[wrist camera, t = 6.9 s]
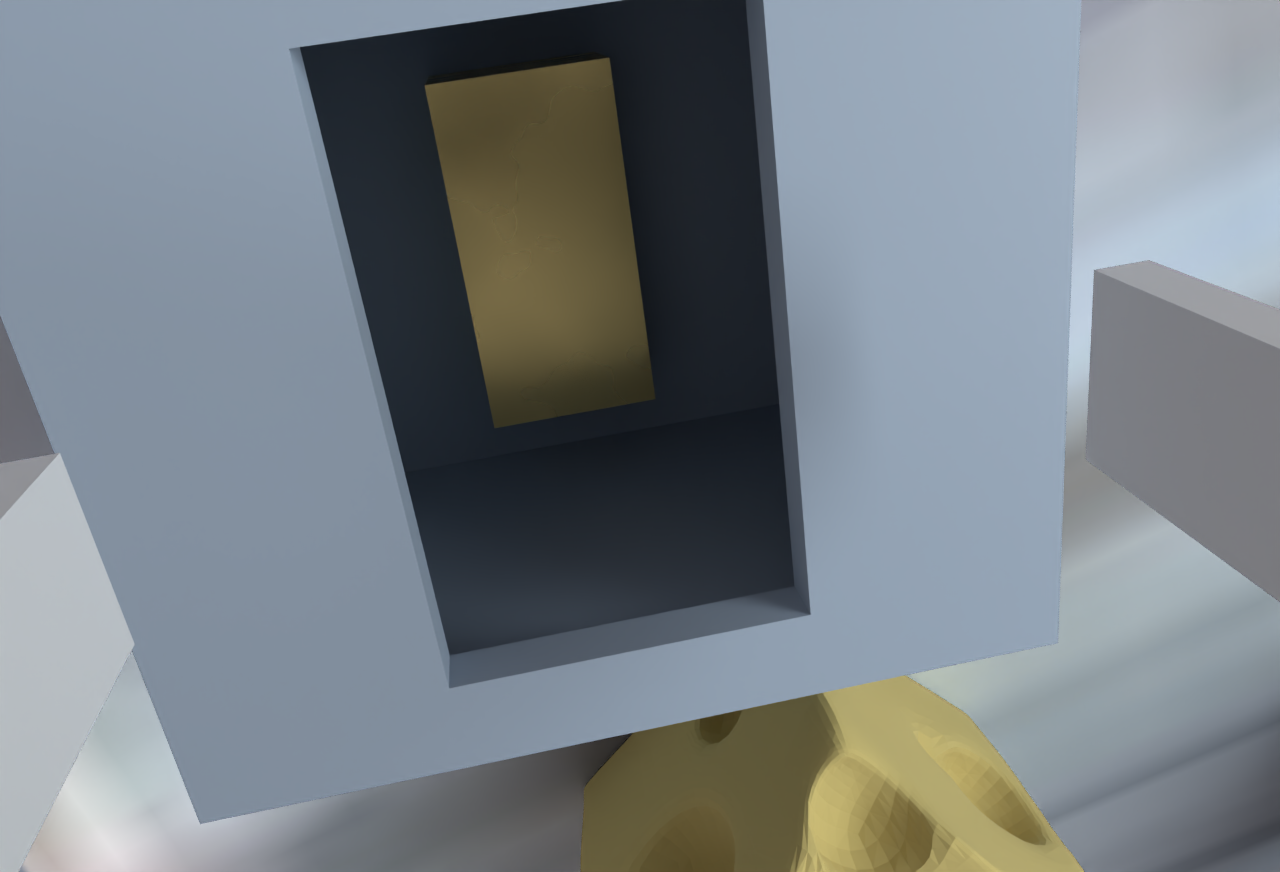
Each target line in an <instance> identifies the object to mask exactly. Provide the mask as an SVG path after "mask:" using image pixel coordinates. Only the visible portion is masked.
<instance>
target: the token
mask: <svg viewBox="0 0 1280 872" xmlns="http://www.w3.org/2000/svg"><path fill="white" fill-rule="evenodd" d="M425 90H426V95H427V100H428V105H429V110H430V115H431V120H432V125H433V130H434V134H435V139H436V144H437V149H438V154H439V159H440V164H441V169H442V174H443V179H444V183H445V188H446V193H447V198H448V203H449V208H450V213H451V218H452V223H453V227H454V232H455V237H456V242H457V247H458V252H459V257H460V262H461V267H462V272H463V276H464V281H465V286H466V291H467V296H468V301H469V306H470V311H471V316H472V321H473V325H474V330H475V335H476V340H477V345H478V350H479V355H480V360H481V365H482V370H483V374H484V379H485V384H486V389H487V394H488V399H489V404H490V409H491V414H492V419H493V423H494V428H499V427H504V426H510V425H515V424H521V423H526V422H532V421H538V420H543V419H549V418H554V417H560V416H565V415H571V414H576V413H582V412H587V411H593V410H598V409H604V408H609V407H615V406H620V405H626V404H631V403H637V402H642V401H648V400H653V399H655V392H654V385H653V377H652V370H651V362H650V355H649V347H648V340H647V333H646V325H645V318H644V310H643V303H642V296H641V288H640V281H639V273H638V266H637V258H636V251H635V244H634V236H633V229H632V221H631V214H630V206H629V199H628V192H627V184H626V177H625V169H624V162H623V155H622V147H621V140H620V132H619V125H618V117H617V110H616V103H615V95H614V88H613V80H612V73H611V65H610V58H609V57H607V56H604V55H601V54H599V53H596V52H587V53H581V54H574V55H567V56H561V57H554V58H547V59H541V60H534V61H527V62H521V63H514V64H507V65H500V66H494V67H487V68H480V69H474V70H467V71H460V72H454V73H447V74H440V75H434V76H429V77H428V79H427V81H426V83H425Z"/></svg>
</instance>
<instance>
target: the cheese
mask: <svg viewBox="0 0 1280 872" xmlns="http://www.w3.org/2000/svg"><path fill="white" fill-rule="evenodd" d="M581 872H1084V870H1083V869H1082V867H1081V866H1080V865H1079V863H1078V862H1077V860H1076V859H1075V858H1074V856H1073V855H1072V853H1071V852H1070V851H1069V850H1068V849H1067V848H1066V846H1065V845H1064V844H1063V842H1062V841H1061V840H1060V838H1059V837H1058V836H1057V834H1056V833H1055V832H1054V830H1053V829H1052V828H1051V826H1050V825H1049V823H1048V822H1047V820H1046V819H1045V817H1044V816H1043V814H1042V813H1041V811H1040V810H1039V808H1038V807H1037V806H1036V804H1035V803H1034V801H1033V800H1032V798H1031V797H1030V796H1029V794H1028V793H1027V791H1026V790H1025V788H1024V787H1023V786H1022V784H1021V783H1020V781H1019V780H1018V778H1017V777H1016V775H1015V774H1014V773H1013V771H1012V770H1011V769H1010V767H1009V766H1008V765H1007V763H1006V762H1005V761H1004V759H1003V758H1002V757H1001V755H1000V754H999V753H998V751H997V750H996V749H995V748H994V746H993V745H992V744H991V743H990V742H989V740H988V739H987V738H986V737H985V735H984V734H983V733H982V732H981V731H980V729H979V728H978V727H977V726H976V724H975V723H974V722H973V721H972V719H971V718H970V717H969V716H968V715H967V714H966V713H964V712H963V711H961V710H960V709H958V708H957V707H955V706H954V705H952V704H950V703H949V702H947V701H946V700H944V699H943V698H941V697H939V696H938V695H936V694H935V693H933V692H932V691H930V690H928V689H927V688H925V687H923V686H922V685H920V684H919V683H917V682H915V681H914V680H912V679H910V678H909V677H907V676H905V675H904V676H899V677H895V678H890V679H885V680H880V681H876V682H871V683H866V684H861V685H857V686H852V687H847V688H843V689H838V690H833V691H828V692H824V693H819V694H814V695H809V696H805V697H800V698H795V699H790V700H786V701H781V702H776V703H771V704H767V705H762V706H757V707H752V708H748V709H743V710H738V711H733V712H729V713H724V714H719V715H714V716H710V717H705V718H700V719H696V720H691V721H686V722H681V723H677V724H672V725H667V726H662V727H658V728H653V729H648V730H643V731H639V732H634V733H633V734H632V735H631V736H630V737H629V738H628V739H627V740H626V742H625V743H624V744H623V745H622V746H621V747H620V748H619V749H618V750H617V751H616V752H615V753H614V754H613V755H612V757H611V758H610V759H609V760H608V761H607V762H606V763H605V764H604V765H603V766H602V767H601V768H600V769H599V771H598V772H597V773H596V774H595V775H594V776H593V777H592V779H591V780H590V781H589V782H588V783H587V785H586V786H585V788H584V812H583V826H582V840H581Z"/></svg>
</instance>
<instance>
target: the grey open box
mask: <svg viewBox="0 0 1280 872" xmlns="http://www.w3.org/2000/svg"><path fill="white" fill-rule="evenodd" d="M1080 22H1081V0H0V316H1V319H2V322H3V324H4V327H5V329H6V332H7V334H8V337H9V339H10V342H11V344H12V347H13V350H14V352H15V355H16V357H17V360H18V362H19V365H20V367H21V370H22V372H23V375H24V377H25V380H26V383H27V385H28V388H29V390H30V393H31V395H32V398H33V400H34V403H35V405H36V408H37V411H38V413H39V416H40V418H41V421H42V423H43V426H44V428H45V431H46V433H47V436H48V438H49V441H50V444H51V446H52V449H53V451H54V454H56V453H60V455H61V457H62V460H63V462H64V465H65V467H66V470H67V472H68V475H69V478H70V480H71V483H72V485H73V488H74V490H75V493H76V495H77V498H78V501H79V503H80V506H81V508H82V511H83V513H84V516H85V518H86V521H87V524H88V526H89V529H90V531H91V534H92V536H93V539H94V541H95V544H96V547H97V549H98V552H99V554H100V557H101V559H102V562H103V565H104V567H105V570H106V572H107V575H108V577H109V580H110V582H111V585H112V588H113V590H114V593H115V595H116V598H117V600H118V603H119V605H120V608H121V611H122V613H123V616H124V618H125V621H126V623H127V626H128V628H129V631H130V634H131V636H132V639H133V641H134V644H135V645H134V647H133V649H132V652H133V654H134V657H135V660H136V662H137V665H138V667H139V670H140V672H141V675H142V677H143V680H144V682H145V685H146V688H147V690H148V693H149V695H150V698H151V700H152V703H153V705H154V708H155V710H156V713H157V715H158V718H159V721H160V723H161V726H162V728H163V731H164V733H165V736H166V738H167V741H168V743H169V746H170V749H171V751H172V754H173V756H174V759H175V761H176V764H177V766H178V769H179V771H180V774H181V776H182V779H183V782H184V784H185V787H186V789H187V792H188V794H189V797H190V799H191V802H192V804H193V807H194V809H195V812H196V815H197V817H198V820H199V822H200V824H202V823H207V822H212V821H217V820H221V819H226V818H231V817H236V816H240V815H245V814H250V813H254V812H259V811H264V810H269V809H273V808H278V807H283V806H288V805H292V804H297V803H302V802H307V801H311V800H316V799H321V798H326V797H330V796H335V795H340V794H345V793H349V792H354V791H359V790H364V789H368V788H373V787H378V786H383V785H387V784H392V783H397V782H402V781H406V780H411V779H416V778H420V777H425V776H430V775H435V774H439V773H444V772H449V771H454V770H458V769H463V768H468V767H473V766H477V765H482V764H487V763H492V762H496V761H501V760H506V759H511V758H515V757H520V756H525V755H530V754H534V753H539V752H544V751H549V750H553V749H558V748H563V747H567V746H572V745H577V744H582V743H586V742H591V741H596V740H601V739H605V738H610V737H615V736H620V735H624V734H629V733H634V732H639V731H643V730H648V729H653V728H658V727H662V726H667V725H672V724H677V723H681V722H686V721H691V720H696V719H700V718H705V717H710V716H714V715H719V714H724V713H729V712H733V711H738V710H743V709H748V708H752V707H757V706H762V705H767V704H771V703H776V702H781V701H786V700H790V699H795V698H800V697H805V696H809V695H814V694H819V693H824V692H828V691H833V690H838V689H843V688H847V687H852V686H857V685H861V684H866V683H871V682H876V681H880V680H885V679H890V678H895V677H899V676H904V675H909V674H914V673H918V672H923V671H928V670H933V669H937V668H942V667H947V666H952V665H956V664H961V663H966V662H971V661H975V660H980V659H985V658H990V657H994V656H999V655H1004V654H1009V653H1013V652H1018V651H1023V650H1027V649H1032V648H1037V647H1042V646H1046V645H1051V644H1056V643H1058V629H1059V602H1060V574H1061V547H1062V519H1063V491H1064V464H1065V436H1066V409H1067V381H1068V353H1069V326H1070V298H1071V271H1072V243H1073V215H1074V188H1075V160H1076V133H1077V105H1078V77H1079V50H1080ZM587 52H596V53H599V54H601V55H604V56H607V57H609V58H610V65H611V73H612V80H613V88H614V95H615V103H616V110H617V117H618V125H619V132H620V140H621V147H622V155H623V162H624V169H625V177H626V184H627V192H628V199H629V206H630V214H631V221H632V229H633V236H634V244H635V251H636V258H637V266H638V273H639V281H640V288H641V296H642V303H643V310H644V318H645V325H646V333H647V340H648V347H649V355H650V362H651V370H652V377H653V385H654V392H655V399H653V400H648V401H642V402H637V403H631V404H626V405H620V406H615V407H609V408H604V409H598V410H593V411H587V412H582V413H576V414H571V415H565V416H560V417H554V418H549V419H543V420H538V421H532V422H526V423H521V424H515V425H510V426H504V427H499V428H494V423H493V419H492V414H491V409H490V404H489V399H488V394H487V389H486V384H485V379H484V374H483V370H482V365H481V360H480V355H479V350H478V345H477V340H476V335H475V330H474V325H473V321H472V316H471V311H470V306H469V301H468V296H467V291H466V286H465V281H464V276H463V272H462V267H461V262H460V257H459V252H458V247H457V242H456V237H455V232H454V227H453V223H452V218H451V213H450V208H449V203H448V198H447V193H446V188H445V183H444V179H443V174H442V169H441V164H440V159H439V154H438V149H437V144H436V139H435V134H434V130H433V125H432V120H431V115H430V110H429V105H428V100H427V95H426V90H425V83H426V81H427V79H428V77H429V76H434V75H440V74H447V73H454V72H460V71H467V70H474V69H480V68H487V67H494V66H500V65H507V64H514V63H521V62H527V61H534V60H541V59H547V58H554V57H561V56H567V55H574V54H581V53H587Z"/></svg>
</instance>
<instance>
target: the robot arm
mask: <svg viewBox="0 0 1280 872" xmlns="http://www.w3.org/2000/svg"><path fill="white" fill-rule="evenodd" d="M1086 460H1087V461H1088V462H1090V463H1091V464H1092V465H1094V466H1095V467H1096V468H1098V469H1099V470H1101V471H1102V472H1103V473H1105V474H1106V475H1107V476H1109V477H1110V478H1111V479H1113V480H1114V481H1116V482H1117V483H1118V484H1120V485H1121V486H1122V487H1124V488H1125V489H1126V490H1128V491H1129V492H1131V493H1132V494H1133V495H1135V496H1136V497H1137V498H1139V499H1140V500H1141V501H1143V502H1144V503H1146V504H1147V505H1148V506H1150V507H1151V508H1152V509H1154V510H1155V511H1156V512H1158V513H1159V514H1160V515H1162V516H1163V517H1165V518H1166V519H1167V520H1169V521H1170V522H1171V523H1173V524H1174V525H1175V526H1177V527H1178V528H1180V529H1181V530H1182V531H1184V532H1185V533H1186V534H1188V535H1189V536H1190V537H1192V538H1193V539H1195V540H1196V541H1197V542H1199V543H1200V544H1201V545H1203V546H1204V547H1205V548H1207V549H1208V550H1210V551H1211V552H1212V553H1214V554H1215V555H1216V556H1218V557H1219V558H1220V559H1222V560H1223V561H1225V562H1226V563H1227V564H1229V565H1230V566H1231V567H1233V568H1234V569H1235V570H1237V571H1238V572H1240V573H1241V574H1242V575H1244V576H1245V577H1246V578H1248V579H1249V580H1250V581H1252V582H1253V583H1254V584H1256V585H1257V586H1259V587H1260V588H1261V589H1263V590H1264V591H1265V592H1267V593H1268V594H1269V595H1271V596H1272V597H1274V598H1275V599H1276V600H1278V601H1279V602H1280V309H1277V308H1275V307H1272V306H1269V305H1267V304H1264V303H1261V302H1259V301H1256V300H1253V299H1251V298H1248V297H1245V296H1243V295H1240V294H1237V293H1235V292H1232V291H1229V290H1227V289H1224V288H1221V287H1219V286H1216V285H1213V284H1211V283H1208V282H1205V281H1203V280H1200V279H1197V278H1195V277H1192V276H1189V275H1187V274H1184V273H1181V272H1179V271H1176V270H1174V269H1171V268H1168V267H1166V266H1163V265H1160V264H1158V263H1155V262H1152V261H1150V260H1148V261H1142V262H1136V263H1131V264H1125V265H1119V266H1114V267H1108V268H1102V269H1097V270H1094V285H1093V307H1092V329H1091V351H1090V373H1089V395H1088V417H1087V440H1086ZM134 645H135V644H134V641H133V639H132V636H131V634H130V631H129V628H128V626H127V623H126V621H125V618H124V616H123V613H122V611H121V608H120V605H119V603H118V600H117V598H116V595H115V593H114V590H113V588H112V585H111V582H110V580H109V577H108V575H107V572H106V570H105V567H104V565H103V562H102V559H101V557H100V554H99V552H98V549H97V547H96V544H95V541H94V539H93V536H92V534H91V531H90V529H89V526H88V524H87V521H86V518H85V516H84V513H83V511H82V508H81V506H80V503H79V501H78V498H77V495H76V493H75V490H74V488H73V485H72V483H71V480H70V478H69V475H68V472H67V470H66V467H65V465H64V462H63V460H62V457H61V455H60V453H56V454H50V455H45V456H39V457H33V458H28V459H22V460H16V461H11V462H5V463H0V872H19V870H20V868H21V866H22V864H23V862H24V860H25V858H26V856H27V854H28V852H29V850H30V848H31V846H32V844H33V842H34V840H35V838H36V837H37V835H38V833H39V831H40V829H41V827H42V825H43V823H44V821H45V819H46V817H47V815H48V813H49V811H50V809H51V807H52V805H53V803H54V801H55V799H56V797H57V795H58V793H59V792H60V790H61V788H62V786H63V784H64V782H65V780H66V778H67V776H68V774H69V772H70V770H71V768H72V766H73V764H74V762H75V760H76V758H77V756H78V754H79V752H80V750H81V748H82V746H83V745H84V743H85V741H86V739H87V737H88V735H89V733H90V731H91V729H92V727H93V725H94V723H95V721H96V719H97V717H98V715H99V713H100V711H101V709H102V707H103V705H104V703H105V701H106V699H107V698H108V696H109V694H110V692H111V690H112V688H113V686H114V684H115V682H116V680H117V678H118V676H119V674H120V672H121V670H122V668H123V666H124V664H125V662H126V660H127V658H128V656H129V654H130V653H131V651H132V649H133V647H134Z"/></svg>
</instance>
